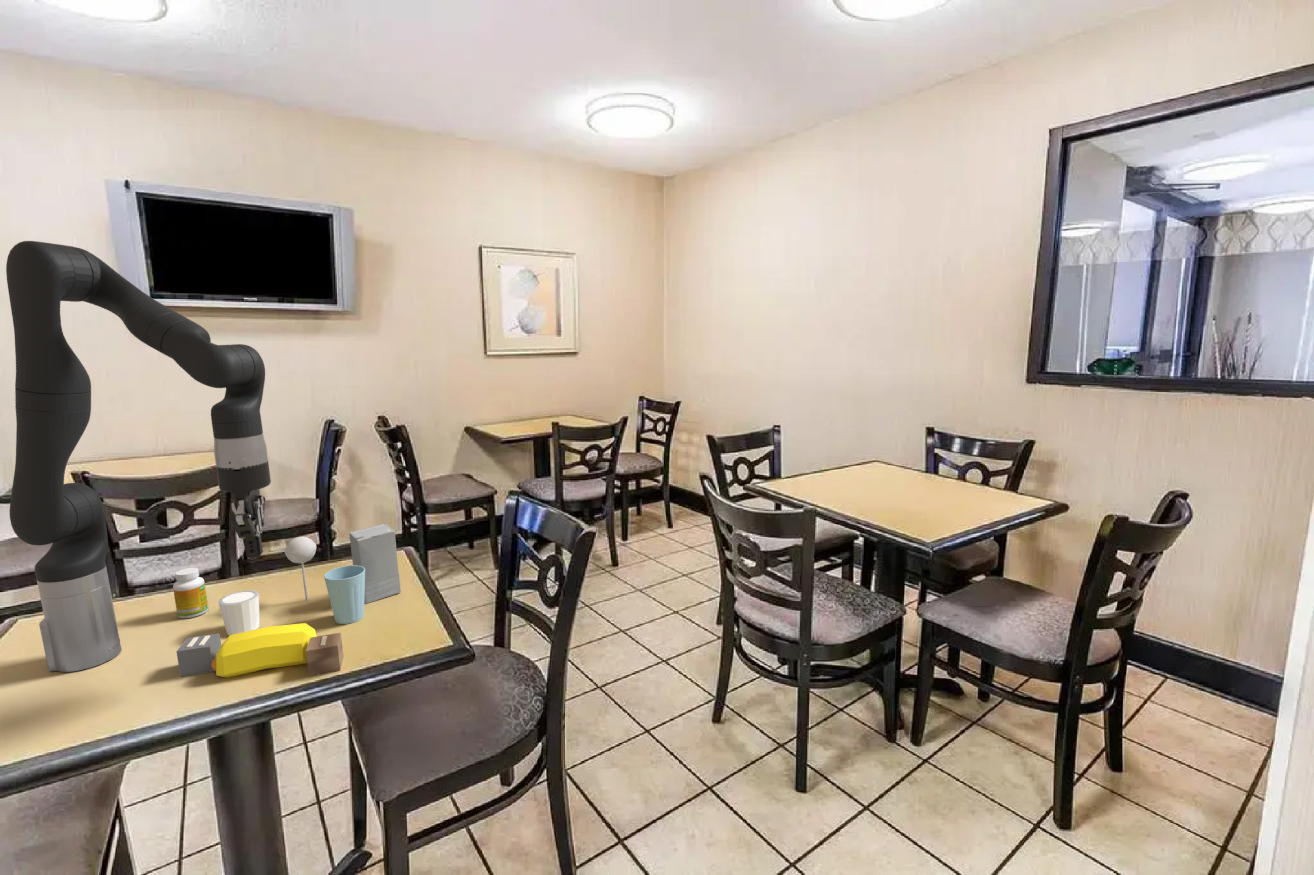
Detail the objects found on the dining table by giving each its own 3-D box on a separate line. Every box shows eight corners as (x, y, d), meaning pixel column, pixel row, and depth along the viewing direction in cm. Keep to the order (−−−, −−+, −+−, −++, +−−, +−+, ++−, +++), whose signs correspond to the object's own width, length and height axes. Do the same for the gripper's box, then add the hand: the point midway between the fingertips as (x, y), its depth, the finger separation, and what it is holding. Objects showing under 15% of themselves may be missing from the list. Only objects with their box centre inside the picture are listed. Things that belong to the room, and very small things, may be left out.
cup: (377, 610, 133) (372, 565, 131) (355, 628, 125) (350, 580, 123) (345, 608, 134) (339, 564, 132) (321, 626, 126) (315, 578, 124)
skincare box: (391, 585, 146) (385, 521, 143) (402, 594, 141) (397, 529, 138) (353, 595, 140) (347, 530, 137) (364, 606, 135) (357, 538, 132)
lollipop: (314, 592, 142) (307, 531, 139) (327, 598, 139) (320, 536, 136) (286, 602, 137) (278, 538, 134) (298, 609, 134) (290, 544, 131)
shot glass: (215, 632, 124) (211, 600, 123) (251, 618, 130) (246, 587, 129) (234, 640, 121) (230, 607, 119) (270, 625, 127) (266, 593, 125)
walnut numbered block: (308, 676, 108) (305, 649, 107) (313, 662, 113) (310, 636, 112) (340, 670, 110) (337, 644, 109) (343, 657, 115) (340, 631, 114)
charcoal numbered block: (180, 677, 108) (176, 650, 107) (191, 662, 113) (187, 636, 112) (213, 672, 110) (209, 645, 109) (223, 657, 114) (219, 632, 114)
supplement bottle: (208, 614, 131) (201, 572, 130) (176, 621, 128) (169, 578, 127) (209, 605, 136) (202, 564, 134) (178, 611, 133) (171, 569, 131)
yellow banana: (218, 663, 113) (205, 686, 106) (213, 630, 111) (200, 650, 104) (327, 644, 119) (322, 665, 112) (324, 613, 118) (318, 631, 111)
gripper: (227, 455, 110) (240, 546, 113) (203, 471, 98) (218, 573, 101) (275, 452, 113) (286, 541, 116) (258, 467, 101) (271, 566, 104)
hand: (255, 555), depth 109 cm, fingers closed
